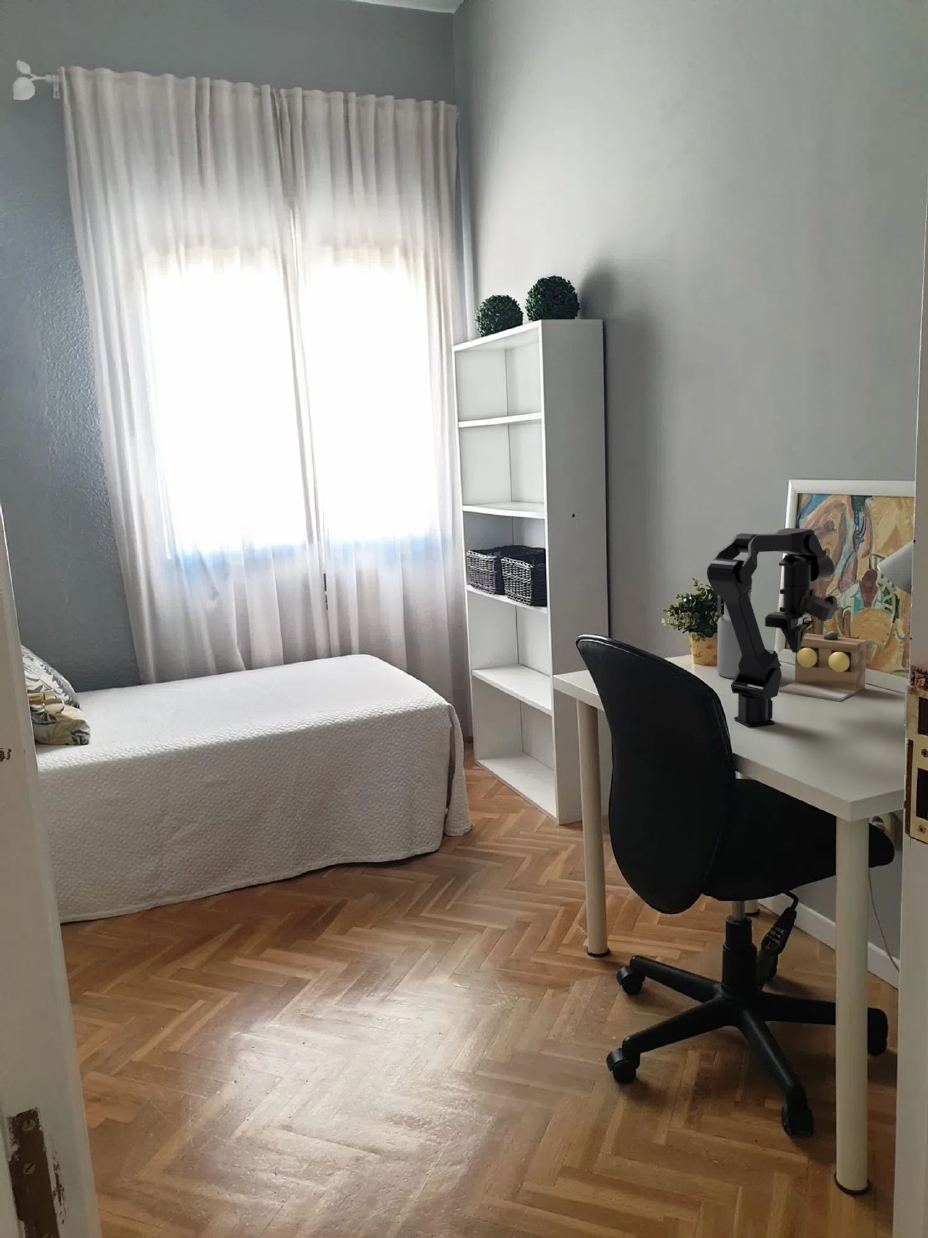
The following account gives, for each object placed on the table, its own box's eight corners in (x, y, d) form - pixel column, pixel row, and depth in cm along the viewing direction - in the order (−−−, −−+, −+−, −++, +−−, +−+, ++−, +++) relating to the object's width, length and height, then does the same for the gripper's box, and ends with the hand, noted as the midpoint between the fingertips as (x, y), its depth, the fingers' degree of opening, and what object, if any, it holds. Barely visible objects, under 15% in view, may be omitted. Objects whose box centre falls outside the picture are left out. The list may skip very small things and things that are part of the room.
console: (839, 701, 223) (840, 644, 220) (778, 691, 233) (779, 636, 231) (864, 688, 233) (866, 633, 230) (805, 679, 243) (807, 626, 241)
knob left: (815, 668, 233) (816, 649, 232) (796, 666, 236) (797, 647, 235) (829, 662, 238) (830, 643, 237) (811, 660, 242) (811, 641, 241)
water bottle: (714, 678, 248) (715, 571, 242) (716, 669, 257) (717, 566, 251) (755, 680, 245) (757, 571, 239) (756, 670, 254) (757, 566, 248)
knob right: (847, 673, 227) (848, 653, 226) (828, 670, 231) (828, 651, 230) (861, 667, 233) (862, 647, 232) (842, 664, 236) (842, 645, 235)
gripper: (812, 593, 202) (811, 665, 205) (850, 581, 215) (848, 649, 218) (763, 589, 210) (762, 658, 212) (803, 578, 222) (801, 643, 225)
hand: (795, 652), depth 217 cm, fingers closed
